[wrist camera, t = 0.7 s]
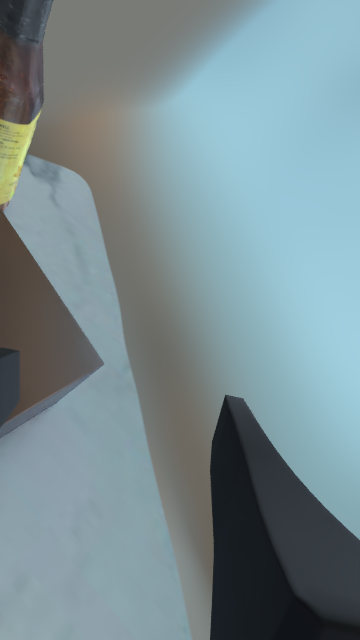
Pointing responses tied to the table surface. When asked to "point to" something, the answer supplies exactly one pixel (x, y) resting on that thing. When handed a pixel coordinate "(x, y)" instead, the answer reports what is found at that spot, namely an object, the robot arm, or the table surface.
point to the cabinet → (38, 332)
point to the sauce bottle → (19, 85)
